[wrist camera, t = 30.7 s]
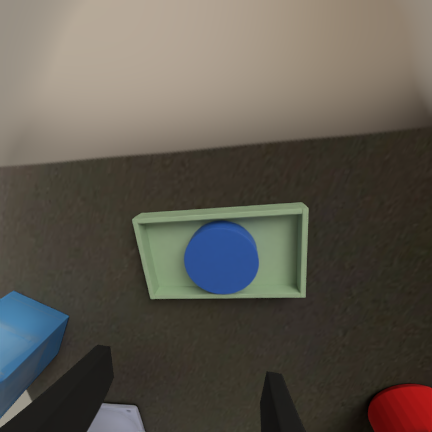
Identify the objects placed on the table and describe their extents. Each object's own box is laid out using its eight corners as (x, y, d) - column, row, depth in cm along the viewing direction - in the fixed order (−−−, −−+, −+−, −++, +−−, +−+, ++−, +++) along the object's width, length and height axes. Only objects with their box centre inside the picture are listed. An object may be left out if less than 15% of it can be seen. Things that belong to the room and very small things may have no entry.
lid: (269, 236, 16) (273, 246, 15) (241, 291, 18) (241, 305, 17) (202, 209, 16) (198, 216, 15) (180, 266, 18) (174, 278, 17)
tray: (157, 287, 20) (150, 299, 18) (141, 213, 17) (131, 219, 16) (300, 285, 18) (305, 297, 16) (302, 202, 16) (308, 208, 14)
